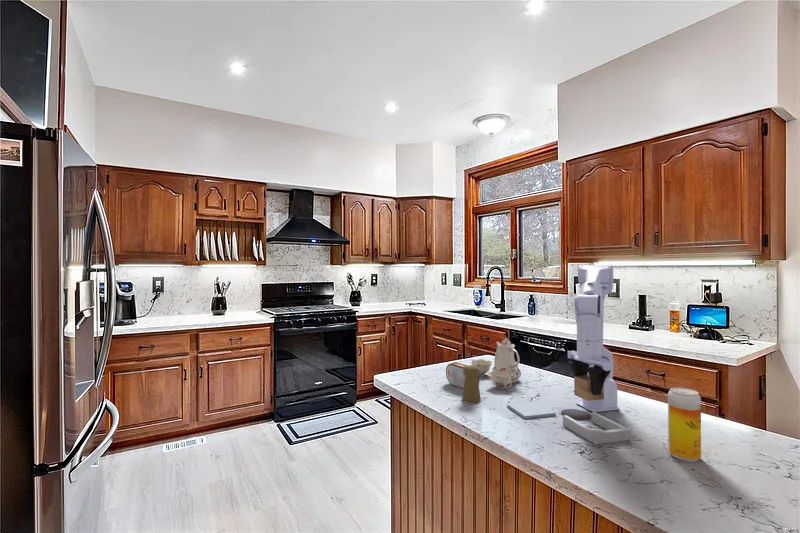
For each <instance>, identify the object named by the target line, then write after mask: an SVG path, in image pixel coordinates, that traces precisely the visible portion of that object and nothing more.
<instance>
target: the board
mask: <svg viewBox="0 0 800 533" xmlns="http://www.w3.org/2000/svg"><path fill="white" fill-rule="evenodd" d="M506 406H507V408H508V409H510V410H511V411H512V412H514V413H516V414H517V415H518V416H520V417H521V418H523V419H525V420H528V419H538V418H545V417H553V416H554V417H556V416H557V414H556V413H557V412H555V411H553V410H551V409H550V408H548V407H546V406H545V405H542V403H540V402H538V401H528V402H518V403H517V402H516V403H507V405H506Z"/></svg>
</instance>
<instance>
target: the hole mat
mask: <svg viewBox="0 0 800 533" xmlns="http://www.w3.org/2000/svg"><path fill="white" fill-rule="evenodd" d="M560 414H561V416H562V417H563V416H564V415H567V416H569V417H571V418H572V419H574V420H576V421H587V420H590V419H592V414H590V413H589V412H587V411H584V410H582V409H577V408H576V409H575V408H567V409H566V408H564V409H563V410H561V412H560Z"/></svg>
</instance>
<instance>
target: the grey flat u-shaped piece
mask: <svg viewBox="0 0 800 533" xmlns="http://www.w3.org/2000/svg"><path fill="white" fill-rule="evenodd" d="M591 422H592V423H593V424H595V425H598V426H599V427H601V428H603V429H605V430H597V431H596V430H594V429H592V428H590V427H589V426H586V425H585V424H583V423H581V422H579V420H574V419H572V418H571V417H569V416H567V415H564V416H563V415H562V426H564V427H566V428H567V429H569V430H571V431H573V432H574V433H575V434H577V435H579V436H580V437H582V438H584V439H586V440H587V441H589V442H591V443H592V444H594V445H601V444H608V443H615V442H623V441H624V442H625V441H630V440H631V439H632V437H631V435H632V434H631V429H630V428H628V427H626V426H624V425H622V424H619V423H618V422H616V421H614V420H612V419H609V418H608V417H606V416H603V415H602V414H600V413H598V412H592V411H591Z"/></svg>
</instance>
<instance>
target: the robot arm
mask: <svg viewBox="0 0 800 533" xmlns="http://www.w3.org/2000/svg"><path fill="white" fill-rule="evenodd" d="M577 279H578V280H577V281H578V285H579V293H578V296H575V297H574V304H573V306H574V307H573V308H574V309H573V310H574V313H575V314H574V315H575V323H576V350H567V359H571V360H570V361H568V365H569V367H570V368H571V371H572V372H573V376H583V375H589V376H590V380H591V390H592V394H593V395H601V391H602V388H603V385H604V399H601V400H591V401H587V400H584V399H582V398H581V399H582V400H581V401H576V402H575V404H577V405H579V406H580V407H582V408H584V409H586V410H588V411H590V412H591V413H592V412H596V413H598V412H608V411H609V412H610V411H616V410H617V411H618V410H620V407H619V406H618V385H617V383H616V380H614V378H613V377H614V356H613V354H612V352H611V351H610V350H609V349H607V348H606V347H605V346H604V315H605V314H604V313H605V312H604V308H605V307H604V305H605V304H604V302H605V299H606V297H607V295H609V294H611V293H612V292H613V290H614V266H613V265H612V264H602V265H601V264H595V265H594V264H589V265H588V264H580V265H579V266H578V269H577Z"/></svg>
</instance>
